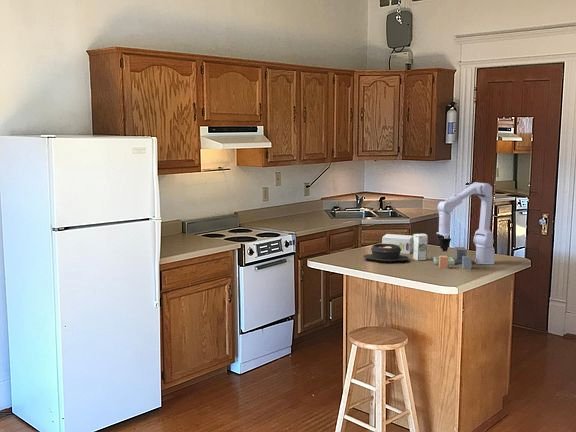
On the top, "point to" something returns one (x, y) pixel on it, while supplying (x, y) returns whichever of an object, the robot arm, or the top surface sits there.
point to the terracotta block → (443, 262)
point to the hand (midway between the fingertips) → (443, 250)
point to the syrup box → (420, 247)
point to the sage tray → (450, 261)
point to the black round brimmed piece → (386, 253)
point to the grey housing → (459, 254)
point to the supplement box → (400, 242)
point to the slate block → (466, 262)
